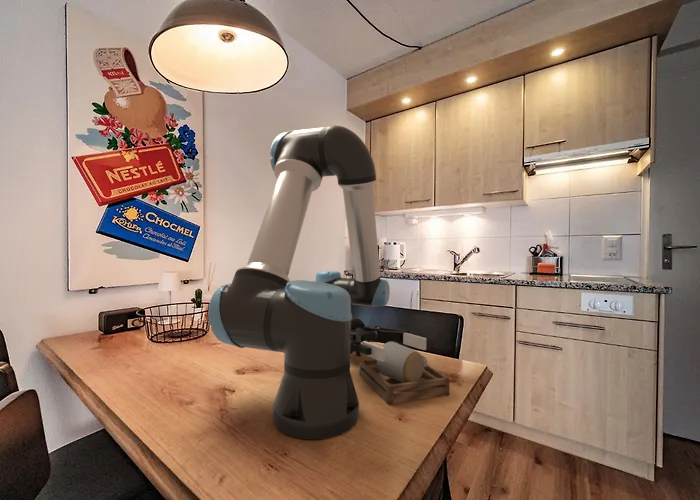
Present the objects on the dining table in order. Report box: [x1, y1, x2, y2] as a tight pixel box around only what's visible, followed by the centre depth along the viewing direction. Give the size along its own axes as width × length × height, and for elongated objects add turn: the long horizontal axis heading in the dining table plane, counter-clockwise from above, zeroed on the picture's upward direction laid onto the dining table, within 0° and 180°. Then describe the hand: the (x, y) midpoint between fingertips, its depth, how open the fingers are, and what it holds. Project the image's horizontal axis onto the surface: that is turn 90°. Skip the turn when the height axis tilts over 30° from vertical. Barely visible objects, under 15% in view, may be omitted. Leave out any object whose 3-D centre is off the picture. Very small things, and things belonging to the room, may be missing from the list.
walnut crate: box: [359, 358, 450, 405], centre depth 69 cm, size 14×15×3 cm
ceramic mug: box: [376, 341, 428, 383], centre depth 70 cm, size 11×8×8 cm
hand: (406, 349), depth 69 cm, fingers open, 13 cm apart
